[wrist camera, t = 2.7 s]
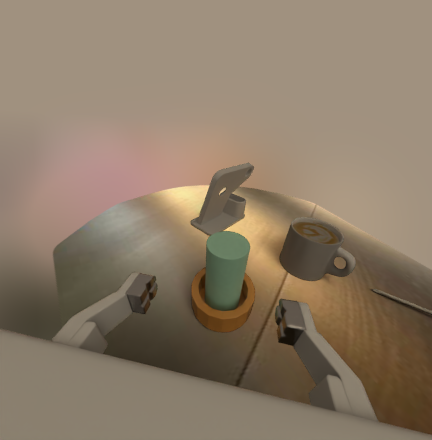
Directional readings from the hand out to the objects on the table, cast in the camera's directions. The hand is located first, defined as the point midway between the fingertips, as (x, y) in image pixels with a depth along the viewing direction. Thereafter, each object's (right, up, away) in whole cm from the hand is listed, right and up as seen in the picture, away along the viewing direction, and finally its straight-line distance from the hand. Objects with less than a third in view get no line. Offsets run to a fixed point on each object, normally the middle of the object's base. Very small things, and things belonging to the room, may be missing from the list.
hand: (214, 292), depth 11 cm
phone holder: (+1, +5, +45) cm, 45 cm away
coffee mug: (+21, -7, +28) cm, 36 cm away
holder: (+1, -10, +20) cm, 23 cm away
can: (+1, -10, +20) cm, 22 cm away
